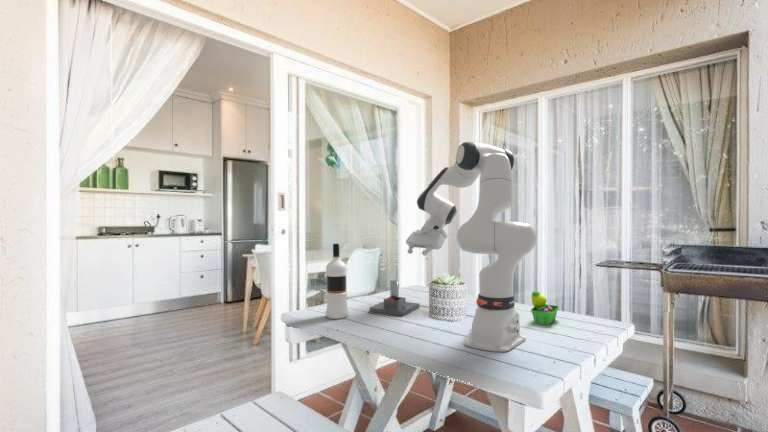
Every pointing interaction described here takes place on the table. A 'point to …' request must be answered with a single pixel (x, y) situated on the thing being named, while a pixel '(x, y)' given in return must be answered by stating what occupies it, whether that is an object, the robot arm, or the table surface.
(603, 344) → the table surface
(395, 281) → the column
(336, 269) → the vodka
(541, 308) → the fruit basket
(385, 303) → the stand base
